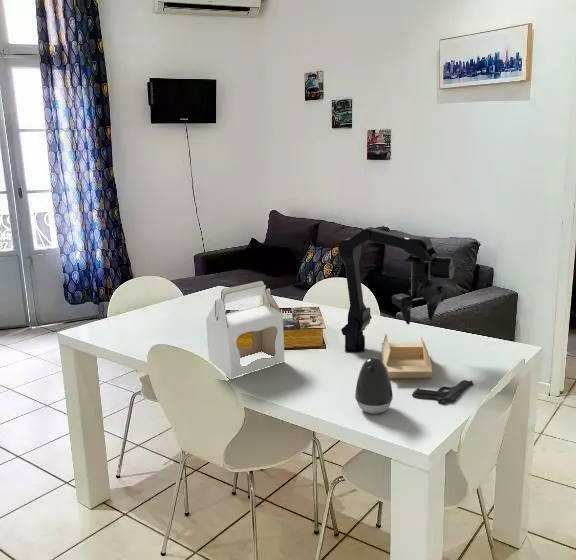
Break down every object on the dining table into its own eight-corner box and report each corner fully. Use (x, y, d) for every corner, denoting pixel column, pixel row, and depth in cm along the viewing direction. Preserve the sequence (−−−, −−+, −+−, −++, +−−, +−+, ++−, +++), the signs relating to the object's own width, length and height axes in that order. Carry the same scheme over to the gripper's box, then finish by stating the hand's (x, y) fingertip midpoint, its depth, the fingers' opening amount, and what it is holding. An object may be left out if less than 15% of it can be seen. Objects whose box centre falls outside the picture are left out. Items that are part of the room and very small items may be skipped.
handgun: (437, 372, 191) (474, 380, 184) (436, 378, 192) (474, 386, 185) (410, 392, 177) (450, 401, 170) (410, 398, 177) (450, 408, 170)
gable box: (230, 380, 194) (225, 294, 188) (208, 369, 205) (202, 287, 198) (285, 362, 208) (282, 282, 201) (262, 352, 218) (258, 275, 211)
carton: (386, 383, 187) (386, 371, 186) (380, 353, 212) (380, 342, 211) (433, 383, 186) (433, 371, 185) (422, 353, 211) (422, 342, 210)
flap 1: (386, 364, 190) (389, 350, 189) (382, 346, 207) (385, 333, 205) (386, 364, 190) (390, 351, 189) (382, 346, 207) (386, 333, 205)
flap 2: (430, 364, 189) (426, 350, 188) (422, 345, 205) (419, 333, 205) (431, 363, 189) (427, 350, 188) (423, 345, 205) (420, 333, 205)
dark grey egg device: (350, 415, 167) (350, 363, 164) (360, 400, 176) (359, 350, 173) (388, 420, 163) (388, 366, 160) (395, 404, 173) (396, 353, 169)
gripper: (413, 284, 188) (412, 333, 191) (459, 276, 196) (458, 323, 200) (391, 277, 197) (390, 324, 201) (436, 270, 206) (435, 315, 209)
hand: (419, 322), depth 203 cm, fingers open, 9 cm apart
